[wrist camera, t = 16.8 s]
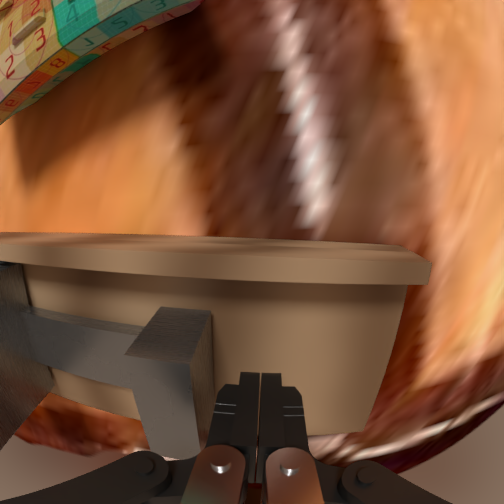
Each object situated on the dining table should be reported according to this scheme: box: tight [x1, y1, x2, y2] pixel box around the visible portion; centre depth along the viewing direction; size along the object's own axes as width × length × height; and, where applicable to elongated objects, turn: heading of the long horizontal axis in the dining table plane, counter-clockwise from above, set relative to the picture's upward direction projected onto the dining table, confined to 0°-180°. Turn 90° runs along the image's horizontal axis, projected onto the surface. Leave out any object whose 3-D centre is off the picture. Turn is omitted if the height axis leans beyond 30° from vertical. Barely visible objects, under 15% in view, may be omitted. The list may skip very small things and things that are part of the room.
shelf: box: [0, 232, 432, 435], centre depth 8 cm, size 27×10×11 cm, turn 88°
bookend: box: [0, 262, 215, 460], centre depth 7 cm, size 11×8×9 cm
